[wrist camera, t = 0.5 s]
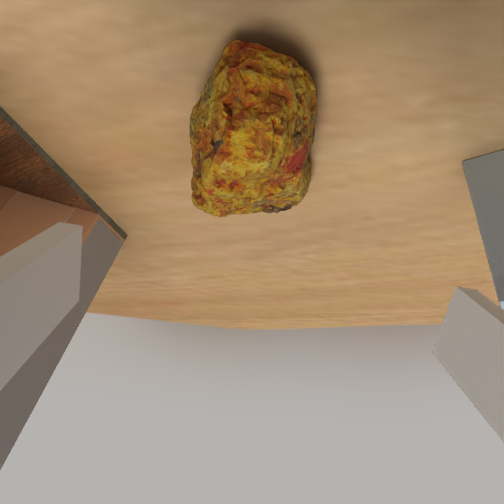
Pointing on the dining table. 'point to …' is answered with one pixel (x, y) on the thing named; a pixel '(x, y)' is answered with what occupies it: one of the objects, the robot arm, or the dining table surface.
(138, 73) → the dining table surface
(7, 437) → the cabinet
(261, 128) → the rock
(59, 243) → the robot arm
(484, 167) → the grey rectangular arch
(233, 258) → the dining table surface
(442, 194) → the dining table surface
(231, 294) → the dining table surface
